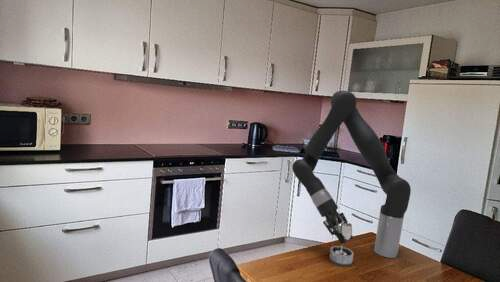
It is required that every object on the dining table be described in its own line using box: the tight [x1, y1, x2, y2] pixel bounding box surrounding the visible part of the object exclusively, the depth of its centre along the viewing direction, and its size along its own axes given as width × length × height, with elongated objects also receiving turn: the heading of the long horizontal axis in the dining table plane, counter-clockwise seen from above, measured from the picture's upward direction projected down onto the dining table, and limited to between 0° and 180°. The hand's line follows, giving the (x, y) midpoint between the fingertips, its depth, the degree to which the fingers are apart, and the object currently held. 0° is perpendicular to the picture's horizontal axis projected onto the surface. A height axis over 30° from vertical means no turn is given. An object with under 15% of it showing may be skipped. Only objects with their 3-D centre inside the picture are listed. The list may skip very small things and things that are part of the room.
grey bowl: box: [329, 245, 355, 267], centre depth 132 cm, size 9×9×4 cm
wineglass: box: [335, 221, 353, 256], centre depth 131 cm, size 6×6×12 cm
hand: (347, 240), depth 130 cm, fingers closed on wineglass, 5 cm apart
